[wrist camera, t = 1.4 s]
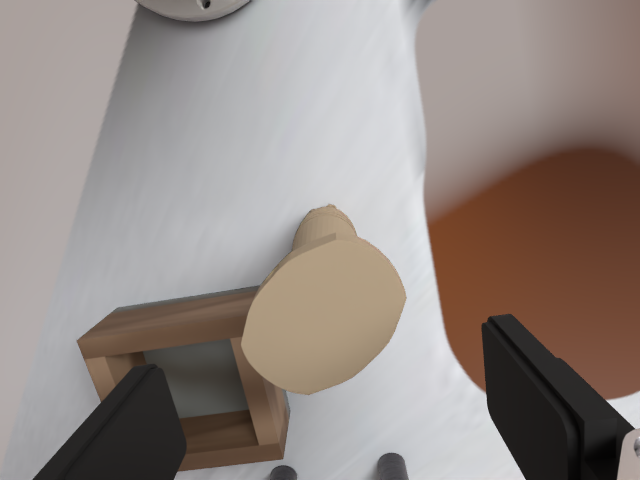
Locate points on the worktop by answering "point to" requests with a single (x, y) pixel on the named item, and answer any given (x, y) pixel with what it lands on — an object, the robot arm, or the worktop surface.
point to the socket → (197, 374)
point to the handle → (323, 307)
